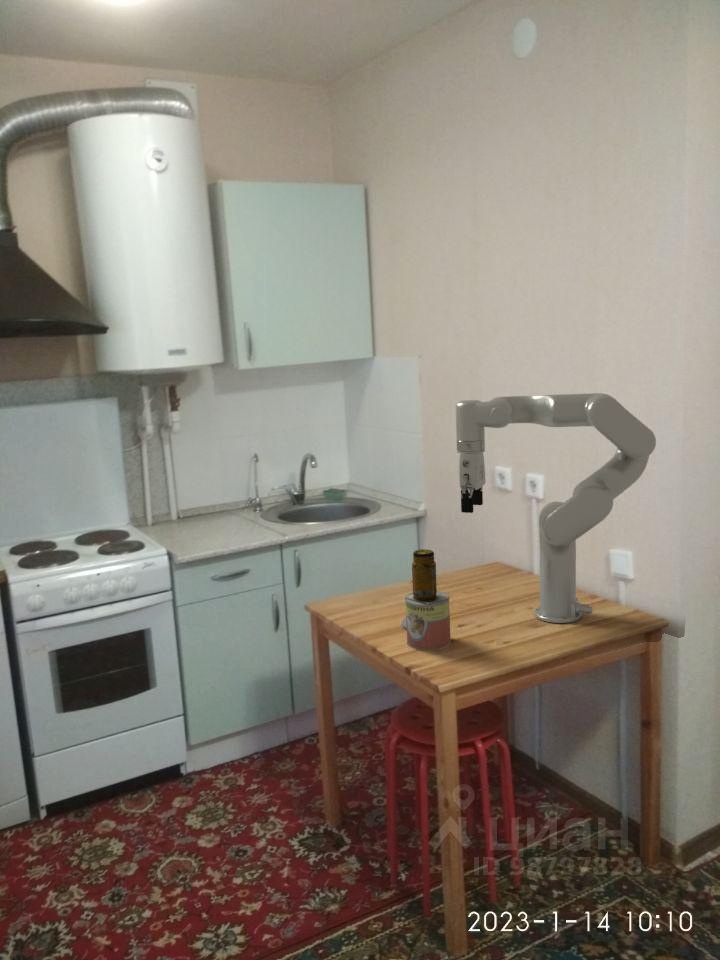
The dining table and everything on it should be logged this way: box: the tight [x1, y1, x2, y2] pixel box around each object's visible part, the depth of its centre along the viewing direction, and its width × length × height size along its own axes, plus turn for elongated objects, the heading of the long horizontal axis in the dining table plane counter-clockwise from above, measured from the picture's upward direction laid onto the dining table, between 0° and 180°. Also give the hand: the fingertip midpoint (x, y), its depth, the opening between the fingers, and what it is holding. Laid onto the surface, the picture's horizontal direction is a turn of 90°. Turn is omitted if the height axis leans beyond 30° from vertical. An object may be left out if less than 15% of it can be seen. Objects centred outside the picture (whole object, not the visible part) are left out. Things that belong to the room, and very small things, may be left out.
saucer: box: [401, 617, 407, 631], centre depth 215 cm, size 10×10×1 cm
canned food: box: [404, 590, 452, 652], centre depth 202 cm, size 11×11×12 cm
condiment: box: [405, 549, 448, 604], centre depth 199 cm, size 7×8×12 cm
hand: (472, 508), depth 216 cm, fingers open, 9 cm apart
